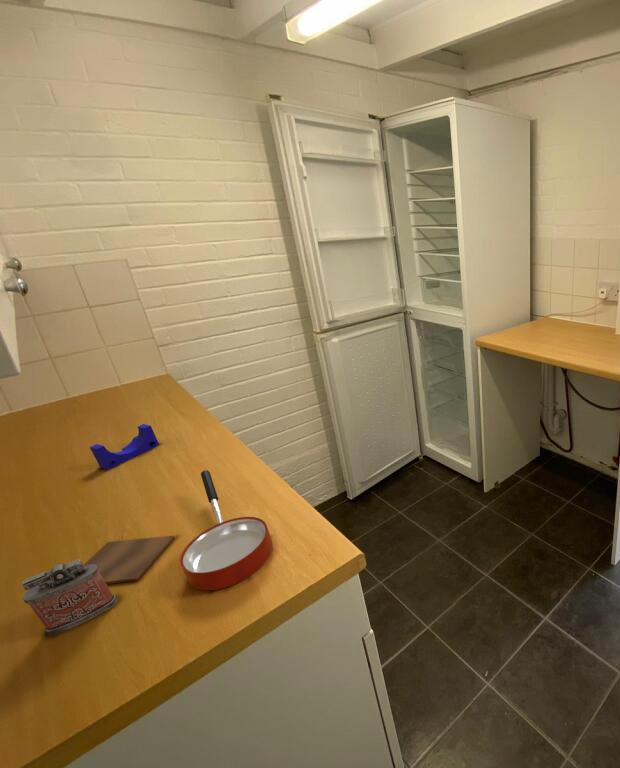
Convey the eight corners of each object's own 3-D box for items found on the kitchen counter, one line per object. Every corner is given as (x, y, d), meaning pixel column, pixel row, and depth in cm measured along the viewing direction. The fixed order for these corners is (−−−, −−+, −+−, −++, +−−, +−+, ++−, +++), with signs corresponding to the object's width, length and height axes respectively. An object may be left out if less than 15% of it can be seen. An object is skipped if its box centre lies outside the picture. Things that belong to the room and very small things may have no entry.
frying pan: (163, 514, 87) (151, 490, 84) (233, 485, 95) (224, 462, 93) (198, 606, 66) (184, 577, 64) (284, 558, 75) (274, 531, 72)
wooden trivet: (62, 588, 71) (61, 586, 70) (109, 544, 80) (107, 542, 79) (138, 580, 72) (136, 578, 71) (175, 538, 81) (174, 535, 80)
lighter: (116, 593, 69) (89, 548, 65) (117, 606, 67) (89, 560, 63) (48, 624, 64) (14, 578, 60) (46, 639, 62) (11, 592, 58)
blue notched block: (148, 442, 115) (140, 423, 113) (159, 444, 114) (150, 425, 111) (96, 466, 105) (85, 446, 102) (107, 469, 103) (96, 449, 101)
